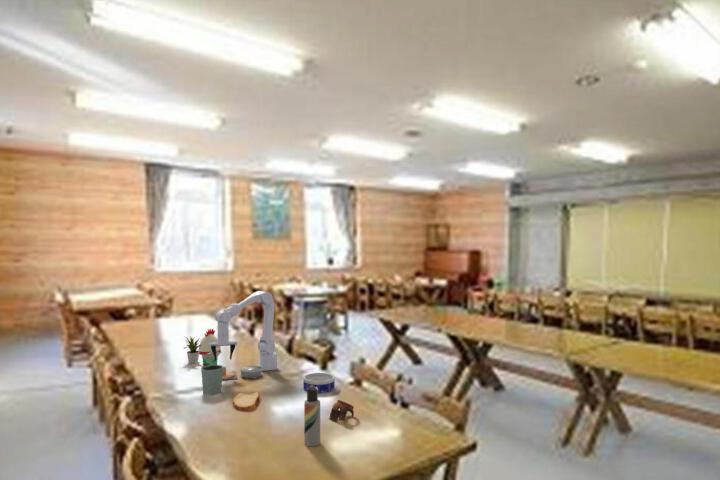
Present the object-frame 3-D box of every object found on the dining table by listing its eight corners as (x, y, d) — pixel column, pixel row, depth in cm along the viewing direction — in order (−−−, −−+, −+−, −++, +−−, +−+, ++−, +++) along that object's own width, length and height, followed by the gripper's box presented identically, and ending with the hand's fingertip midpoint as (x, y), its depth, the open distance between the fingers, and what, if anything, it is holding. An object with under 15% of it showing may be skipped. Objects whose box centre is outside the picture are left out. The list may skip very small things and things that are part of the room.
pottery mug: (325, 417, 204) (333, 397, 206) (346, 426, 205) (353, 406, 208) (331, 419, 192) (339, 399, 195) (352, 429, 193) (360, 408, 196)
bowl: (260, 372, 270) (260, 365, 270) (263, 377, 260) (263, 370, 260) (239, 374, 267) (239, 366, 267) (241, 379, 256) (241, 371, 256)
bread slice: (247, 413, 207) (247, 404, 207) (219, 405, 217) (219, 397, 217) (277, 402, 222) (277, 393, 222) (249, 395, 232) (249, 387, 232)
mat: (235, 372, 271) (235, 371, 271) (237, 379, 257) (237, 377, 257) (205, 374, 266) (205, 373, 266) (205, 381, 252) (205, 380, 252)
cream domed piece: (225, 351, 322) (225, 328, 322) (208, 355, 310) (208, 331, 310) (210, 348, 330) (210, 326, 330) (193, 352, 318) (193, 329, 318)
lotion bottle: (311, 439, 180) (311, 384, 180) (323, 442, 177) (323, 386, 177) (301, 444, 175) (301, 388, 175) (313, 448, 172) (313, 390, 172)
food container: (212, 373, 269) (212, 354, 269) (201, 372, 270) (201, 354, 270) (222, 367, 281) (222, 350, 281) (213, 366, 282) (213, 349, 282)
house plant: (173, 363, 289) (173, 336, 289) (189, 358, 302) (189, 332, 302) (192, 366, 284) (192, 337, 284) (208, 360, 297) (208, 333, 297)
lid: (237, 373, 267) (237, 364, 267) (231, 379, 255) (231, 370, 255) (215, 373, 267) (215, 364, 267) (208, 379, 255) (208, 370, 255)
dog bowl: (339, 386, 246) (339, 374, 246) (327, 395, 231) (327, 382, 231) (311, 383, 251) (311, 371, 251) (298, 391, 236) (298, 379, 236)
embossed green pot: (203, 396, 228) (203, 370, 228) (199, 390, 237) (199, 366, 237) (225, 393, 233) (225, 368, 233) (220, 387, 242) (220, 363, 242)
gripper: (236, 331, 267) (236, 356, 267) (208, 333, 263) (208, 358, 263) (237, 334, 260) (237, 359, 260) (208, 336, 256) (208, 362, 256)
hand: (223, 359), depth 261 cm, fingers open, 7 cm apart
